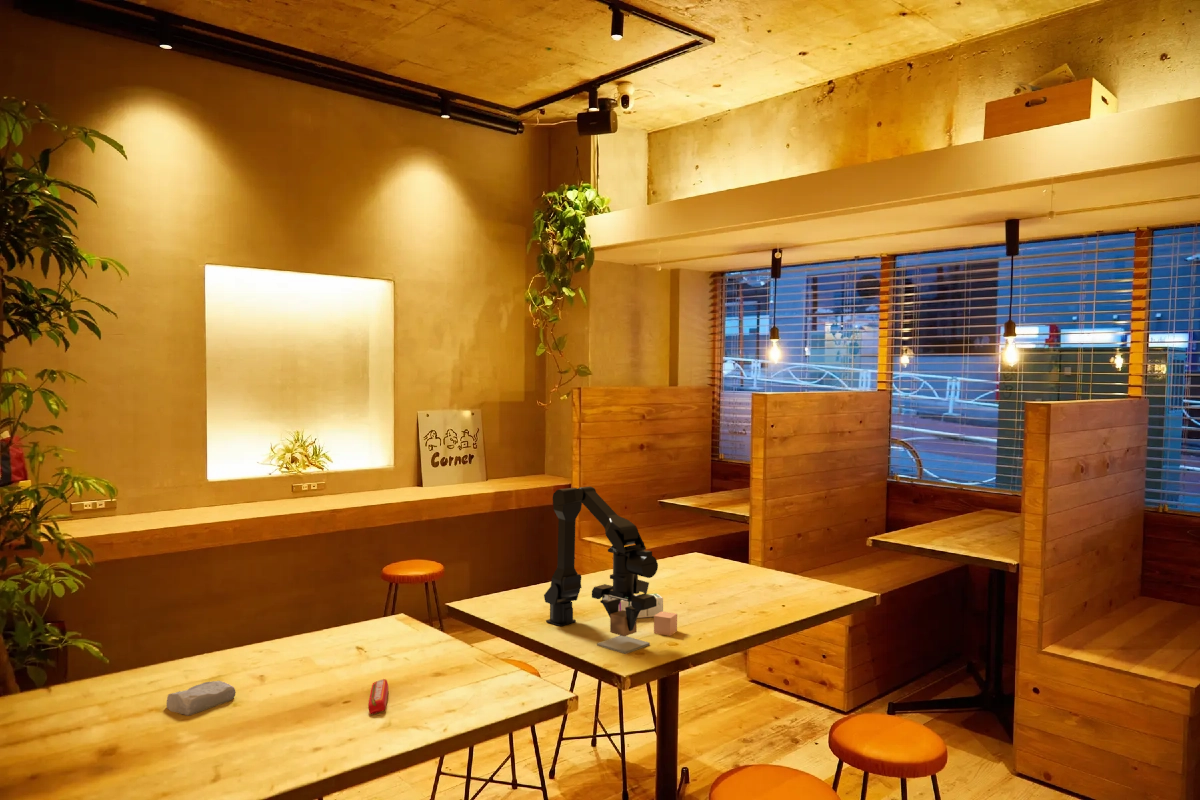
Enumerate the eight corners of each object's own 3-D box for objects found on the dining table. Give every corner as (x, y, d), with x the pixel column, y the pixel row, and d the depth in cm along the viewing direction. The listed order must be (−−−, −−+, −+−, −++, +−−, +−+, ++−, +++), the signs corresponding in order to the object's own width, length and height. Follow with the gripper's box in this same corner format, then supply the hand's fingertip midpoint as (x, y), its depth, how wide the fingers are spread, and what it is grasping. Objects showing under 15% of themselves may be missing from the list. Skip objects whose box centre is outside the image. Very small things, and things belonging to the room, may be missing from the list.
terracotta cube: (653, 633, 230) (654, 615, 230) (660, 628, 235) (661, 611, 235) (670, 635, 228) (670, 618, 228) (677, 631, 233) (677, 613, 232)
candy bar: (372, 689, 188) (372, 676, 188) (388, 688, 189) (388, 675, 189) (367, 718, 173) (367, 704, 173) (385, 716, 173) (385, 702, 173)
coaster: (597, 645, 219) (597, 643, 219) (621, 636, 227) (621, 634, 227) (625, 654, 213) (625, 651, 213) (649, 644, 220) (649, 642, 220)
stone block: (161, 717, 177) (188, 717, 172) (159, 694, 177) (186, 694, 172) (212, 701, 187) (239, 700, 182) (210, 679, 188) (237, 678, 183)
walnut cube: (610, 632, 220) (610, 613, 219) (622, 628, 223) (622, 610, 223) (624, 636, 216) (624, 617, 216) (636, 632, 220) (636, 613, 220)
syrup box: (663, 597, 246) (617, 599, 243) (663, 616, 246) (616, 619, 243) (657, 593, 252) (612, 595, 248) (657, 612, 252) (611, 614, 248)
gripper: (669, 571, 219) (669, 629, 219) (617, 560, 231) (617, 615, 232) (642, 578, 211) (642, 638, 211) (590, 567, 223) (590, 623, 224)
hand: (623, 628), depth 220 cm, fingers closed on walnut cube, 5 cm apart
